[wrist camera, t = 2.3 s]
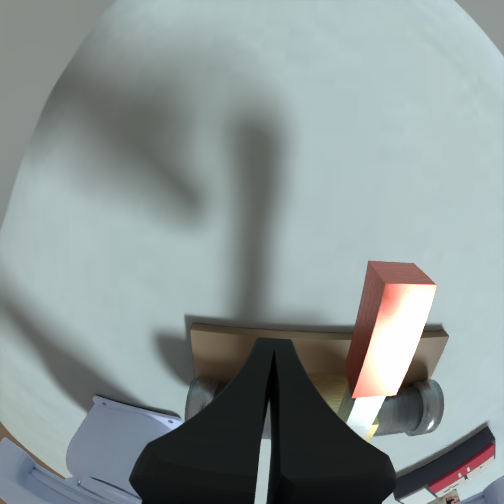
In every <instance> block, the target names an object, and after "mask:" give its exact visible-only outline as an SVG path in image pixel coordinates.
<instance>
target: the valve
mask: <svg viewBox="0 0 504 504" xmlns="http://www.w3.org/2000/svg"><path fill="white" fill-rule="evenodd" d="M307 374H308V376H309V378H310V379H311V381H312V383H313V384H314V386H315V387H316V389H317V390H318V392H319V393H320V395H321V396H322V397H323V399H324V400H325V401H326V402H327V404H328V405H329V406H330V407H331V408H332V410H333V411H334V412H335V413H336V414H337V412H338V409H339V407H340V404H341V401H342V398H343V395H344V393H345V390H346V387H347V384H348V381H347V377H346V373H307ZM225 387H226V386H220V380H216V379H208V378H201V377H195V378H194V379H193V381H192V383H191V385H190V388H189V391H188V395H187V400H186V407H185V422H186V421H187V420H189V419H190V418H192V417H193V416H194V415H196V414H197V413H198V412H200V411H201V410H202V409H203V408H204V407H206V406H207V405H208V404H209V403H210V402H211V401H212V400H213V399H214V398H215V397H216V396H217V395H218V394H219V393H220V392H221V391H222V390H223V389H224V388H225ZM443 411H444V397H443V392H442V389H441V387H440V385H439V384H438V383H437V382H436V381H435V380H432V379H430V380H422V381H413V382H411V383H410V385H409V387H405V388H399V389H398V391H397V393H396V395H391V396H385V398H384V401H383V403H382V405H381V407H380V409H379V411H378V413H377V415H376V417H375V419H374V421H373V423H372V425H371V427H370V429H369V430H368V432H367V434H366V436H365V438H364V440H366V441H367V442H368V443H369V442H370V440H371V438H372V437H376V436H384V435H392V434H398V433H406V434H407V435H408V436H416V435H421V434H426V433H430V432H433V431H434V430H435V429H436V428H437V427H438V425H439V424H440V422H441V419H442V416H443ZM262 439H271V421H270V398H269V403H268V408H267V414H266V419H265V424H264V429H263V434H262Z"/></svg>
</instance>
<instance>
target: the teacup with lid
mask: <svg viewBox="0 0 504 504" xmlns="http://www.w3.org/2000/svg"><path fill="white" fill-rule="evenodd" d="M457 502H460V499H459V496H458V493H457V491H456V490H452V491H451V492H449V493H447V494H445V495H444V496H442V497H440V498H439V497H436V499H434V500H433V501H431V502H429V503H427V504H455V503H457Z"/></svg>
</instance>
